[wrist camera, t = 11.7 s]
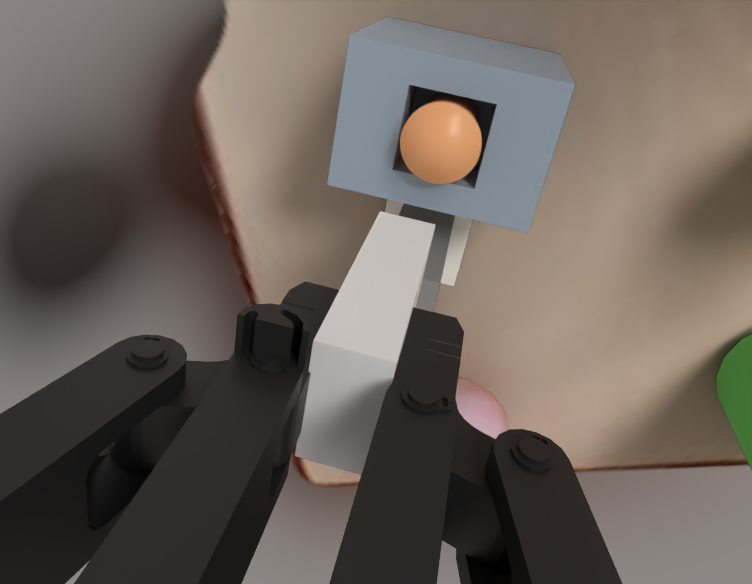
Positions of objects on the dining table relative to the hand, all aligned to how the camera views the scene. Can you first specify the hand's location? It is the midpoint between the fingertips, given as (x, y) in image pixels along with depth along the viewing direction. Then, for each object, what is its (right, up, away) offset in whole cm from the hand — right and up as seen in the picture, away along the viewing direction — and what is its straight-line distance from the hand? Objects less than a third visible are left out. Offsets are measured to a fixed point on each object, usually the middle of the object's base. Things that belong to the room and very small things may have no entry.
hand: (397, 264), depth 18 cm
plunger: (+3, +8, +16) cm, 18 cm away
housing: (+4, +11, +21) cm, 24 cm away
